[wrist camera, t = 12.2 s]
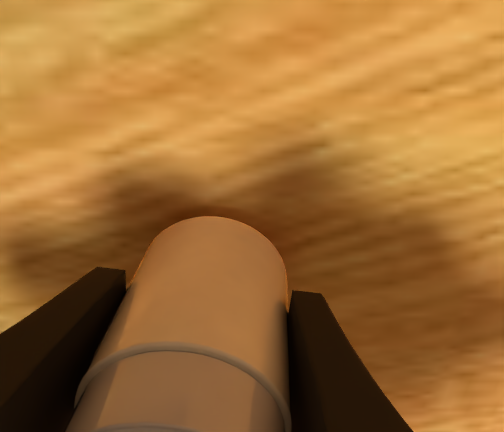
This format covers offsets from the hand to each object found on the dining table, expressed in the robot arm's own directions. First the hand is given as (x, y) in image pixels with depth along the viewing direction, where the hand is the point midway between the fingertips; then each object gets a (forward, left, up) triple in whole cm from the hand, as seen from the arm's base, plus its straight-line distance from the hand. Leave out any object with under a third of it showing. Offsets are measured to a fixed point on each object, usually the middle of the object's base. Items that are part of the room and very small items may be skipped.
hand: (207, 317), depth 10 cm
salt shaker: (0, 0, -1) cm, 1 cm away
